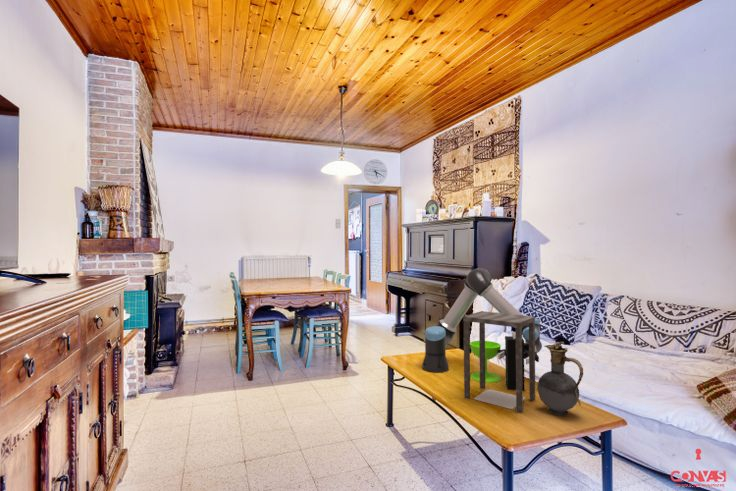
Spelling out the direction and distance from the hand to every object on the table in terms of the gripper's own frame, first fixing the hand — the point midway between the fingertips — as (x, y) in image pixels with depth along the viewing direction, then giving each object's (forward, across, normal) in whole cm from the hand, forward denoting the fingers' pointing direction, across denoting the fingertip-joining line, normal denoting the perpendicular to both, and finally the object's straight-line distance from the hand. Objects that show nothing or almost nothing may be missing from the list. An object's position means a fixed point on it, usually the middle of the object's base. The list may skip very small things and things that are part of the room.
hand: (512, 359), depth 192 cm
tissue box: (-3, 0, -15) cm, 16 cm away
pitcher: (+15, -26, -15) cm, 34 cm away
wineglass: (-8, +18, -15) cm, 25 cm away
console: (+16, 0, -15) cm, 22 cm away
